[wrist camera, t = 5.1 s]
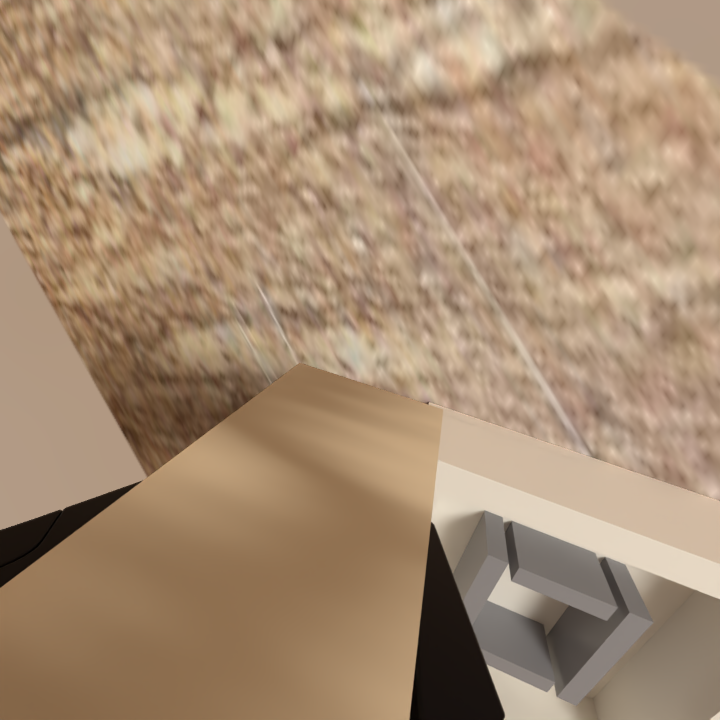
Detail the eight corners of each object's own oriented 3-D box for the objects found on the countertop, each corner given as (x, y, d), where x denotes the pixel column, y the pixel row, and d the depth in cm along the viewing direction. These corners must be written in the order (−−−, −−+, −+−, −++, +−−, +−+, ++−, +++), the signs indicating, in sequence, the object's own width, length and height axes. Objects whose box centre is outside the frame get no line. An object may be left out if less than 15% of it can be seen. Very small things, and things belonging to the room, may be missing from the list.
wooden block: (281, 476, 11) (-80, 947, 4) (300, 362, 9) (-252, 776, 2) (402, 524, 10) (255, 1226, 3) (443, 409, 9) (350, 1260, 1)
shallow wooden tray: (360, 593, 26) (338, 669, 21) (429, 402, 19) (418, 452, 15) (600, 703, 23) (633, 818, 18) (777, 520, 16) (898, 629, 12)
